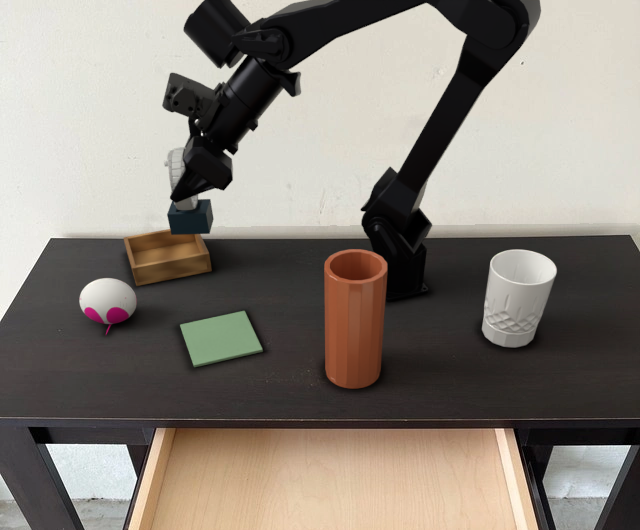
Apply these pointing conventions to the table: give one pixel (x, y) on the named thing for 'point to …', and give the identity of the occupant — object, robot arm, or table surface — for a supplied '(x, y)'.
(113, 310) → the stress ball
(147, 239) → the wooden box
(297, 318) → the table surface
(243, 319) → the mat
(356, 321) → the vase
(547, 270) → the white cup
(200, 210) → the watch
